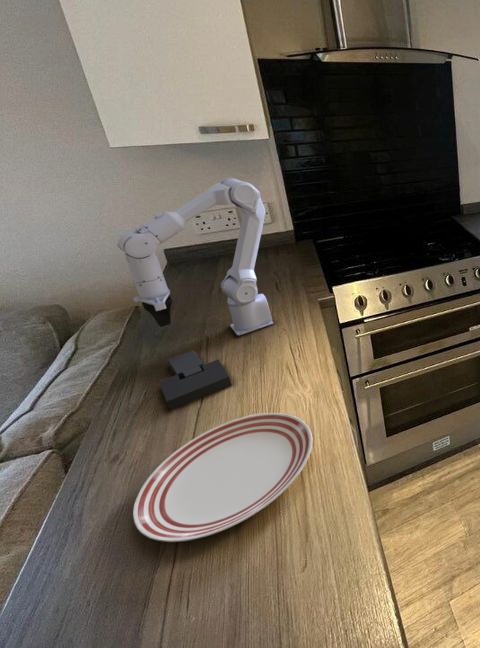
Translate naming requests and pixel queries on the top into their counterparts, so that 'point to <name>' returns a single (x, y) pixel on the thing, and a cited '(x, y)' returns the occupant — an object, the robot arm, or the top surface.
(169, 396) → the notch pad
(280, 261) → the top surface
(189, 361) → the tongue pad
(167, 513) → the dinner plate
